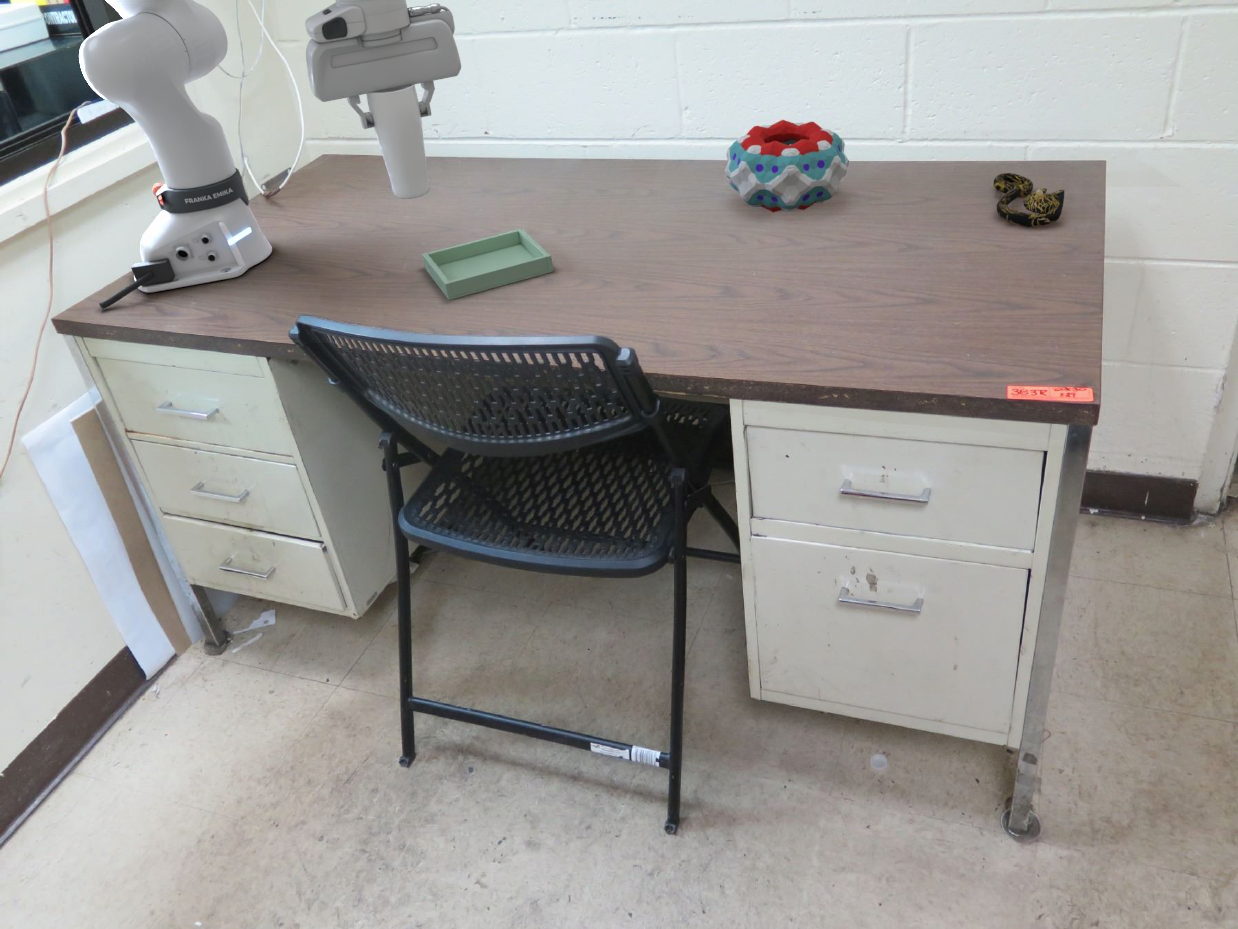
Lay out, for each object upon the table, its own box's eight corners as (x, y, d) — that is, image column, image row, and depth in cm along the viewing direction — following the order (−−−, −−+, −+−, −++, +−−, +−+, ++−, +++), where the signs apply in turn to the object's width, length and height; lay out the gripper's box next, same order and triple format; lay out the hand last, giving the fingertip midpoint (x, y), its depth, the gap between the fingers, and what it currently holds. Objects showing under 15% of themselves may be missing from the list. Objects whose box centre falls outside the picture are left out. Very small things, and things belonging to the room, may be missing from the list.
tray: (448, 300, 145) (445, 283, 143) (425, 269, 155) (421, 253, 154) (553, 271, 149) (551, 255, 148) (524, 243, 160) (521, 228, 158)
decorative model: (810, 80, 163) (845, 109, 146) (839, 157, 170) (876, 194, 154) (705, 136, 166) (728, 171, 149) (738, 210, 174) (763, 251, 157)
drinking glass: (403, 184, 146) (380, 79, 137) (443, 186, 144) (423, 79, 135) (380, 201, 140) (355, 92, 132) (422, 203, 138) (399, 93, 130)
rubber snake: (998, 153, 156) (1066, 159, 154) (993, 181, 159) (1059, 187, 156) (991, 198, 143) (1065, 205, 140) (985, 228, 146) (1057, 235, 143)
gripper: (443, -3, 134) (461, 101, 142) (292, 23, 128) (320, 130, 136) (456, 3, 129) (475, 111, 137) (300, 30, 123) (328, 141, 131)
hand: (396, 121), depth 136 cm, fingers closed on drinking glass, 7 cm apart
